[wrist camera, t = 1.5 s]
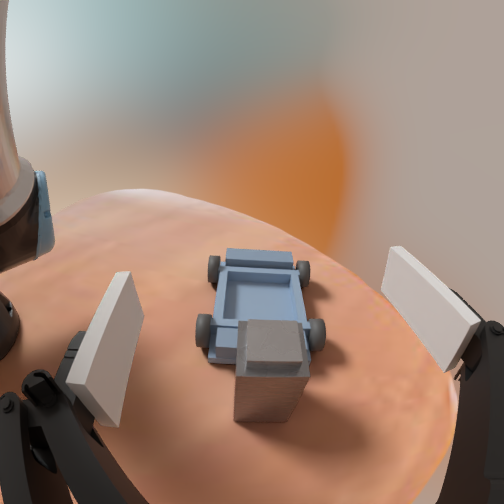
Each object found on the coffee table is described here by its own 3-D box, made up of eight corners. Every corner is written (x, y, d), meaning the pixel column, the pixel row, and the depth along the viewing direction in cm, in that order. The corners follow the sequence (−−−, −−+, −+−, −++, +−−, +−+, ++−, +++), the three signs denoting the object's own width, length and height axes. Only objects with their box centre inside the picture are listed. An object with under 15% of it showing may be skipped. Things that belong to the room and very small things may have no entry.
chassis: (196, 361, 33) (192, 341, 30) (212, 266, 49) (211, 245, 47) (320, 365, 33) (329, 345, 31) (301, 271, 50) (306, 251, 47)
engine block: (233, 421, 26) (236, 368, 19) (235, 377, 31) (238, 311, 24) (286, 421, 27) (313, 369, 20) (283, 378, 32) (304, 314, 25)
